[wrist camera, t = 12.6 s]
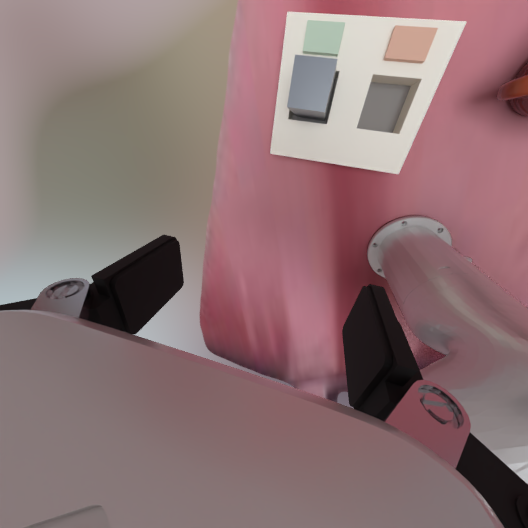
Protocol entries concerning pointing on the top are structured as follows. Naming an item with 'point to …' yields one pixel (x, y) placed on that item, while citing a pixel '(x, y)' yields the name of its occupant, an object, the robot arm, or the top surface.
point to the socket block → (363, 86)
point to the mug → (516, 92)
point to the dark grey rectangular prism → (311, 86)
